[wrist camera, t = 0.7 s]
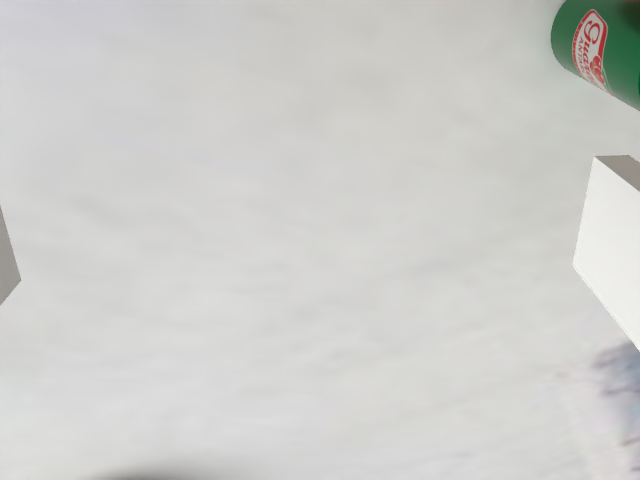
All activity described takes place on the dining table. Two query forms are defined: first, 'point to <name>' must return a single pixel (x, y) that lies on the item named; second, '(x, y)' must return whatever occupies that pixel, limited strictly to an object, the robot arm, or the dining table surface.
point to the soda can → (601, 44)
